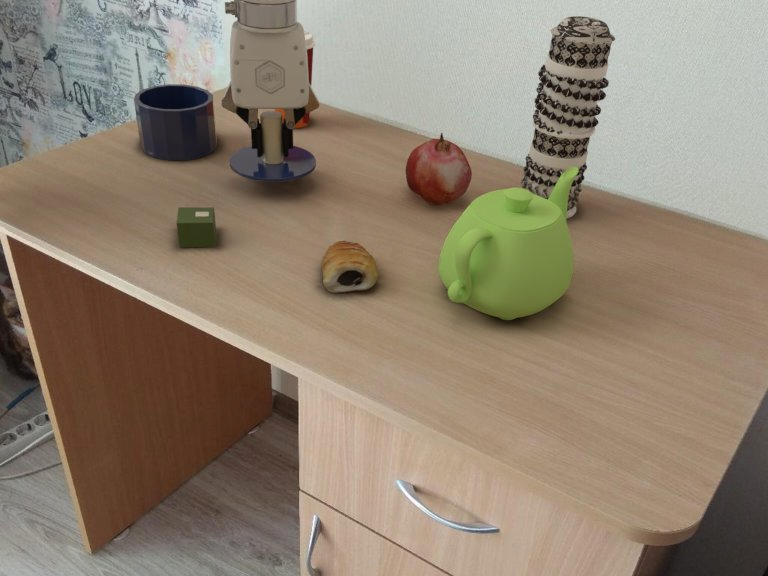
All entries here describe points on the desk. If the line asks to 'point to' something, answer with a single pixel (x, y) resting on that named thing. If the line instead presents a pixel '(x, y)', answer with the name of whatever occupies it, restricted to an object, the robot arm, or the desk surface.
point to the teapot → (510, 251)
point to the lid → (272, 155)
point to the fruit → (438, 171)
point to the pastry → (348, 268)
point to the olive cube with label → (196, 227)
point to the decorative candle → (567, 105)
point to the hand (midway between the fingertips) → (272, 152)
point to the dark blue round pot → (176, 121)
